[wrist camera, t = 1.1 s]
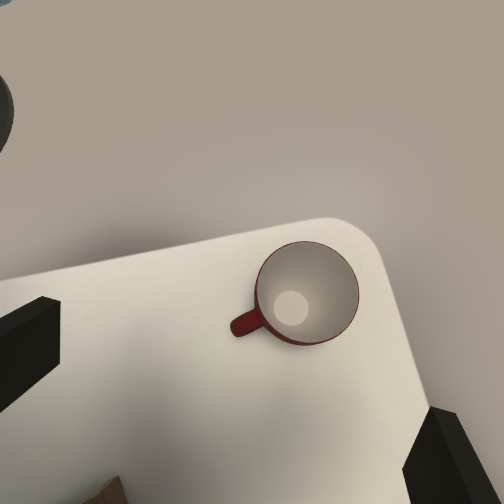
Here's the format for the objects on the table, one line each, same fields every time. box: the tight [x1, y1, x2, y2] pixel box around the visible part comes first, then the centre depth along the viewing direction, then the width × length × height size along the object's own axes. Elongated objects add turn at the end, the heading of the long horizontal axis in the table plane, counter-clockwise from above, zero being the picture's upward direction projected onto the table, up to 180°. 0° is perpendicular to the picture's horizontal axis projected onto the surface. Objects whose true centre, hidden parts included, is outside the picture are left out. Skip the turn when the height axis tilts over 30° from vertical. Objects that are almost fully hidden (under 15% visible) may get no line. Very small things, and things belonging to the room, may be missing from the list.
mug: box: [230, 241, 359, 346], centre depth 31 cm, size 11×8×10 cm
